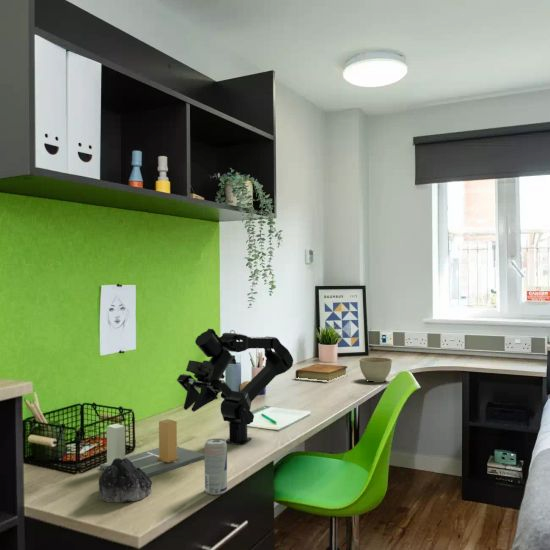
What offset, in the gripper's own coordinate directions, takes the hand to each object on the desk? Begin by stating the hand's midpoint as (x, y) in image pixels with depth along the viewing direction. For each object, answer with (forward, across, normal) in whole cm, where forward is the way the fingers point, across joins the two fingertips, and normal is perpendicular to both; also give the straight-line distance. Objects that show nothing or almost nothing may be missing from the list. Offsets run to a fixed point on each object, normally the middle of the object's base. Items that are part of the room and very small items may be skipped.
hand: (188, 409), depth 162 cm
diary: (-82, -46, +102) cm, 139 cm away
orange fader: (+14, 0, +3) cm, 14 cm away
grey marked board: (+16, -4, +3) cm, 17 cm away
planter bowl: (-89, -20, +108) cm, 141 cm away
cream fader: (+22, -7, -5) cm, 24 cm away
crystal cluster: (+30, +9, -10) cm, 33 cm away
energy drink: (+19, +25, +1) cm, 31 cm away
